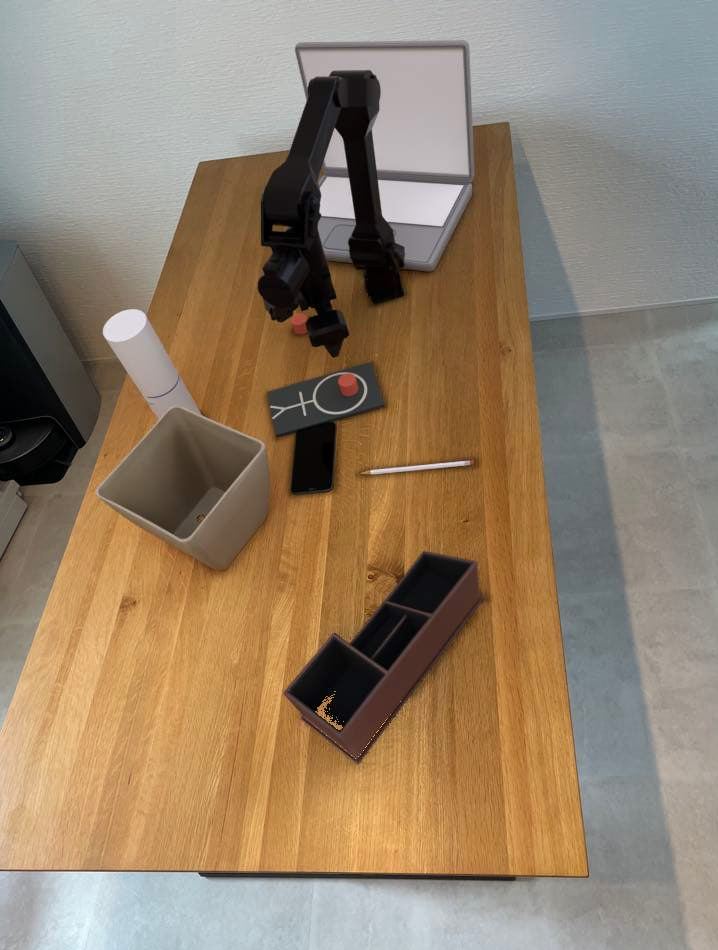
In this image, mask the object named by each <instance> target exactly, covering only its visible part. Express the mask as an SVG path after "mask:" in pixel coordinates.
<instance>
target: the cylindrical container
mask: <svg viewBox="0 0 718 950" xmlns="http://www.w3.org/2000/svg"><path fill="white" fill-rule="evenodd" d="M102 335H103V337H104V339H105V340H106V342H107V343H108V345H109V346H110V348H111V350H112V351H113V352H114V354H115V356H116V357H117V359H118V360H119V362H120V363H121V365H122V366H123V368H124V369H125V371H126V372H127V374H128V376H129V377H130V379H131V380H132V382H133V384H134V385H135V386H136V388H137V389H138V391H139V393H140V395H142V397H143V399H144V400H145V402H146V404H147V405H148V406H149V408H150V409H151V411H152V413H153V414H154V415H155V417H156V419H157V421H158V420H159V419H160V418H161V417H162V416H163V415H164V414H165V413H166V411H167V410H168V409H169V408H170V407H171V406H174V405H180V406H182V407H184V408H187V409H189V410H191V411H193V412H195V413H198V414H200V415H202V413H201V411H200V409H199V407H198V405H197V404H196V402H195V400H194V399H193V398H194V397H192V395H191V393H190V391H189V390H188V388H187V386H186V385H185V382H184V381H183V379H182V377H181V376H180V374H179V372H178V370H177V368H176V367H175V365H174V363H173V361H172V359H171V358H170V356H169V354H168V352H167V351H166V349H165V347H164V345H163V343H162V342H161V340H160V338H159V337H158V335H157V333H156V331H155V329H154V327H153V326H152V324H151V322H150V320H149V318H148V317H147V315H146V313H145V312H144V311H142V310H140V309H135V308H129V309H125V310H122V311H120V312H117V313H116V314H113V316H111V317H110V318H108V320H107V321H106V322H105V323H104V326H103V328H102Z"/></svg>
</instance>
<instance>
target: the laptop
mask: <svg viewBox="0 0 718 950" xmlns="http://www.w3.org/2000/svg"><path fill="white" fill-rule="evenodd" d="M294 53H295V58H296V62H297V66H298V69H299V74H300V78H301V81H302V88H303V91H304V96H305V99H306V101H307V98H308V84H309V81H310V80H311V79H314V78H315V77H318V76H329V75H330V73H331V72H332V71H334V70H370V71H372V73H373V75H376V77H377V79H378V80H379V83H380V89H381V95H380V101H379V107H380V110H379V113H378V115H377V118H376V120H375V123H374V125H373V128H372V135H373V144H374V152H375V160H376V169H377V177H378V185H379V193H380V202H381V210H382V216H383V217H384V219H385V220H386V221H387V223H388V224H389V225H390V226H391V228H392V229H393V233H394V239H395V243H397V244H399V245H402V246H404V247H405V258H404V263H405V266H404V267H403V268H401V269H402V270H409V271H410V270H411V271H417V272H418V271H419V272H428V273H430V272H433V271H434V270H436V268H437V266H438V265H439V262H440V260H441V258H442V256H443V254H444V252H445V250H446V248H447V246H448V244H449V242H450V240H451V238H452V236H453V234H454V232H455V230H456V228H457V227H458V223H460V220H461V218H462V217H463V214H464V212H465V210H466V208H467V206H468V204H469V202H470V200H471V198H472V196H473V185H472V182H473V181H474V178H475V176H476V175H475V152H474V129H473V126H474V125H473V108H472V107H473V102H472V101H473V100H472V78H471V77H472V76H471V53H470V43H469V41H467V40H465V39H448V40H447V39H446V40H445V39H441V40H440V39H439V40H438V39H437V40H375V41H374V40H371V41H369V40H368V41H364V40H363V41H304V42H303V41H301V42H300V41H299V42H298V43H296V45H295V47H294ZM321 170H322V171H323V175H322V176H321V178H320V179H318V184H319V188H320V191H321V201H320V212H319V213H321V218H320V220H319V222H318V231H319V235H320V239H321V243H322V246H323V250H324V254H325V257H326V261H329V262H336V263H337V262H338V263H347V264H353V262H352V260H351V259H350V255H349V245H348V240H349V238H350V237H351V235H352V232H353V230H354V228H355V225H356V221H355V214H354V208H353V201H352V195H351V188H350V182H349V175H348V169H347V162H346V156H345V149H344V143H343V138H342V137H341V135H340V134H339V133H338V131H337V130H336V129H335V128H334V131H333V134H332V137H331V140H330V143H329V146H328V149H327V152H326V156H325V159H324V162H323V165H322V168H321ZM401 269H400V270H401Z"/></svg>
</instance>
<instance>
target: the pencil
mask: <svg viewBox="0 0 718 950" xmlns="http://www.w3.org/2000/svg"><path fill="white" fill-rule="evenodd" d="M473 465H475V460H474V459H471V460H461V461H460V460H459V461H451V462H441V463H431V464H420V465H410V466H409V465H408V466H401V467H389V468H381V469H379V468H378V469H370V470H365V471H364V472H360V474H362V475H371V476H372V475H379V474H380V475H382V474H391V473H401V472H414V471H422V470H424V471H425V470H433V469H444V468H454V467H464V466H473Z"/></svg>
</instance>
